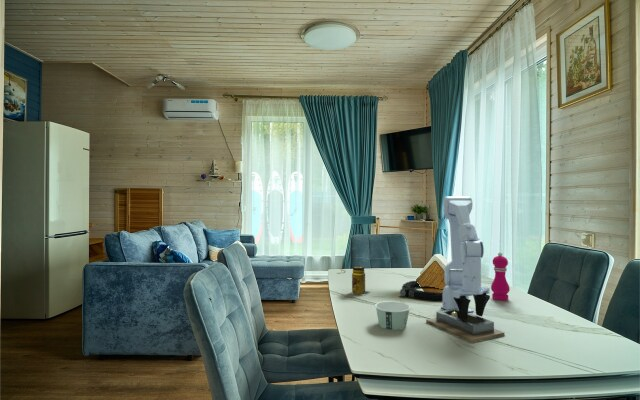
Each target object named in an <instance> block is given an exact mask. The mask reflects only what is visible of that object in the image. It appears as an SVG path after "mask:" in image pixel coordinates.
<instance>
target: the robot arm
mask: <svg viewBox="0 0 640 400" xmlns="http://www.w3.org/2000/svg"><path fill="white" fill-rule="evenodd" d="M472 210H473V198H472V197H471V195H470V196H469V195H468V196H447V195H446V196H445V197H444V199H443V216H444V219H446V220H448V223H449V235H450V255H451V261H450V262H449V263H447V264H446V265H445V267H444V274H443V278H444V279H443V280H444V281H443V282H445V284H446V286H445V287H444V289H442V292H443V301H442V305H440V308H441V309H444V310H449V309H459V312H460V316H461V318H463V319H467V317H468V313H472V312H474V310H475V315H476V316H479V317H483V315H484V312H485V308H486V306H487V303H488V302H489V300H490V298H491V296H490V295H489V294H490V289H491V287H487V286H482V258H483V257H484V254H485V253H484V252H485V251H484V250H485V248H484V243H483V241H482V240H481V238H478V233H477V230H476V227H475V226H474V225H473V224H471V218H470V214H471V212H472ZM471 296H472V297H473V299H474V304H475V305H474V306H475V309H471V308H469V305H470V303H471V299H469V298H470V297H471Z"/></svg>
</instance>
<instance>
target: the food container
mask: <svg viewBox="0 0 640 400" xmlns="http://www.w3.org/2000/svg"><path fill="white" fill-rule="evenodd" d="M374 307H375V309H376V316H377V320H378V321H377V322H378V326H379V327H381V328H383V329H386V330H394V331H397V330H403V329H405V328H407V324H408V319H409V313H410V310H411V306H410V305H409V304H408V303H405V302H401V301H393V300H392V301H391V300H389V301H388V300H387V301H378V302H377V303H375V304H374Z"/></svg>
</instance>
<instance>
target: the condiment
mask: <svg viewBox="0 0 640 400" xmlns="http://www.w3.org/2000/svg"><path fill="white" fill-rule="evenodd" d="M351 289H352V290H351V292H349V293H348V294H349V295H355V296H365V295H368V294H369V293H370V292H371V290H366V273H365V267H364V266H353V267H352V273H351Z"/></svg>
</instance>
